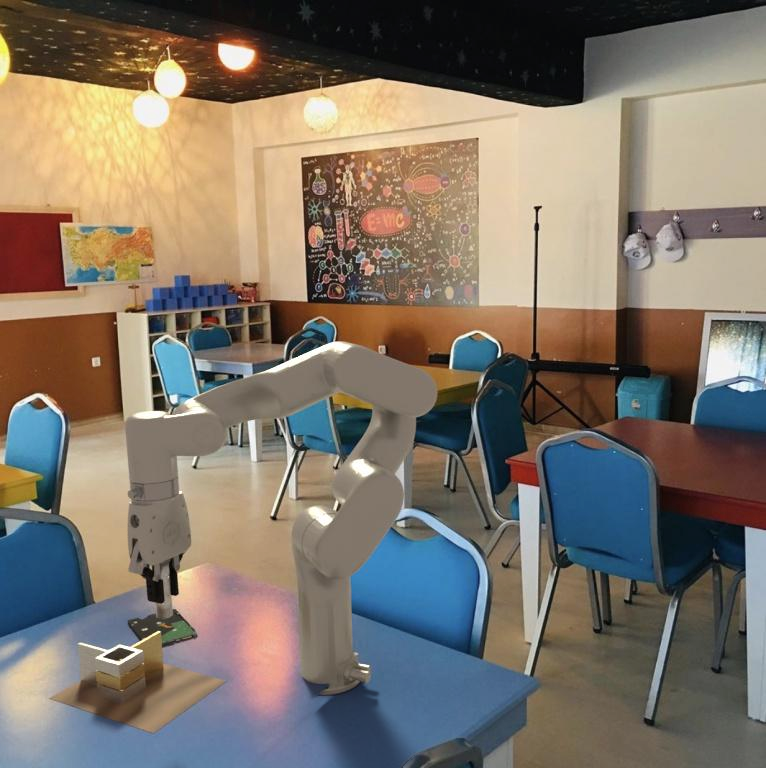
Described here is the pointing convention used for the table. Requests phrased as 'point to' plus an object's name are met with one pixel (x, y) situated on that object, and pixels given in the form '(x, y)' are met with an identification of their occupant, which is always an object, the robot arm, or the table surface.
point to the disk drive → (163, 628)
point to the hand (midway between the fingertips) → (163, 597)
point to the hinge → (121, 667)
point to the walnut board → (145, 698)
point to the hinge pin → (165, 593)
